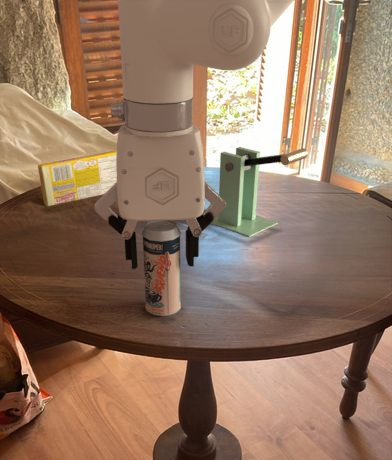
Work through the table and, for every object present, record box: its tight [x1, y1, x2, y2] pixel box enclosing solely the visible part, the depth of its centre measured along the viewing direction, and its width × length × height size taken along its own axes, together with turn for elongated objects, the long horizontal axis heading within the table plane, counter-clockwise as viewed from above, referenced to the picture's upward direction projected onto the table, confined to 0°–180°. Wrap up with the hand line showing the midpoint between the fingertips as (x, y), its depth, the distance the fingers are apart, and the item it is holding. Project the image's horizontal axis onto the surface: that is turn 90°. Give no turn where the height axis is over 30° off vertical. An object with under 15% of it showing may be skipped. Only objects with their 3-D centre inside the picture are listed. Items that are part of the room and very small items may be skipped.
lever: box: [239, 147, 309, 171], centre depth 91 cm, size 13×5×2 cm, turn 47°
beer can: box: [141, 220, 182, 317], centre depth 73 cm, size 5×5×12 cm
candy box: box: [37, 149, 117, 211], centre depth 107 cm, size 16×2×8 cm, turn 126°
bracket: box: [211, 146, 279, 238], centre depth 97 cm, size 12×8×13 cm, turn 47°
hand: (162, 261), depth 73 cm, fingers open, 6 cm apart
